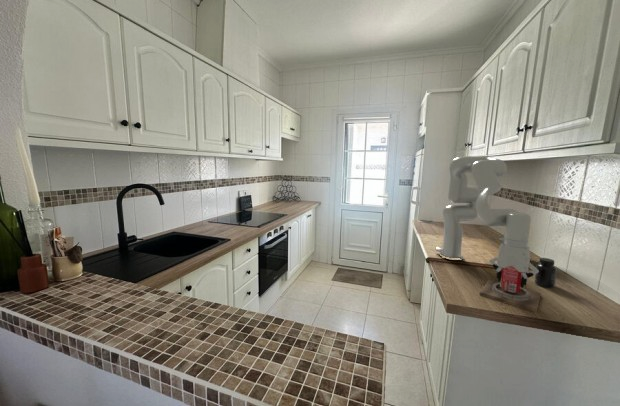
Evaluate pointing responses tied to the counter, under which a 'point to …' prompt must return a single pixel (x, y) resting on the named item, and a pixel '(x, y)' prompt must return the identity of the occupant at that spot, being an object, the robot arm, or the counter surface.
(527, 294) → the locating board
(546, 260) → the supplement bottle
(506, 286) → the soda can
